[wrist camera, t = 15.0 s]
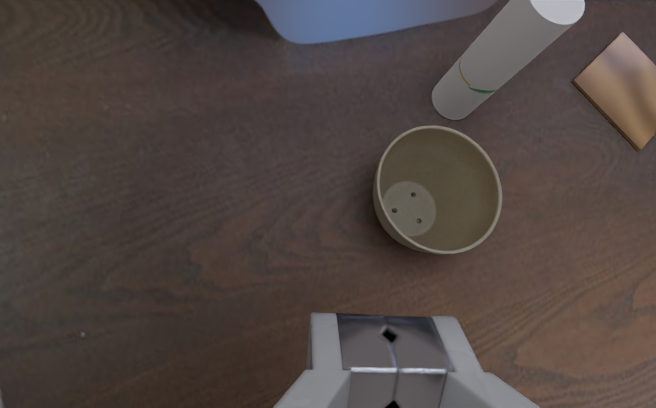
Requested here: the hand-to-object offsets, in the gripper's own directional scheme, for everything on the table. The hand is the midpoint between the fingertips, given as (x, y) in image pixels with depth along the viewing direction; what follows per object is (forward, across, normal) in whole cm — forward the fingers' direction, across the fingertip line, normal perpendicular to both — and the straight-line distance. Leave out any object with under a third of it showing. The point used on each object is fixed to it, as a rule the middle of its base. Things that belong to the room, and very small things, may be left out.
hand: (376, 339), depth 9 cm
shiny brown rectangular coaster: (+41, -34, 0) cm, 53 cm away
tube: (+37, -13, +1) cm, 39 cm away
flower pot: (+29, -8, +10) cm, 32 cm away
